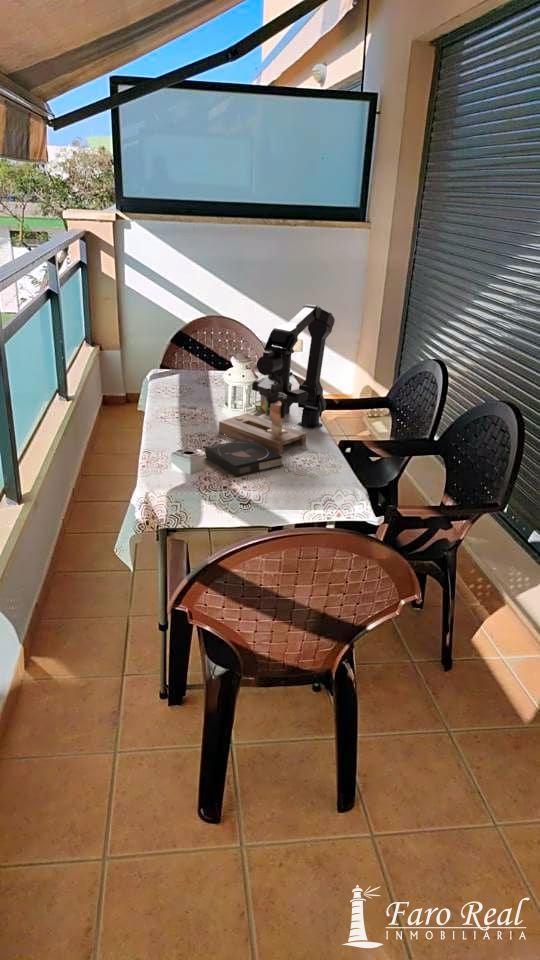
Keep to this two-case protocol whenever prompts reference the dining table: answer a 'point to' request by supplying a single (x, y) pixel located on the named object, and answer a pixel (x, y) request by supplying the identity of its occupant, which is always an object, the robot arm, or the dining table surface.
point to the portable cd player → (243, 457)
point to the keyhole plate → (260, 432)
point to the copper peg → (276, 419)
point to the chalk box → (264, 403)
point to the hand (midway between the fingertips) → (277, 416)
